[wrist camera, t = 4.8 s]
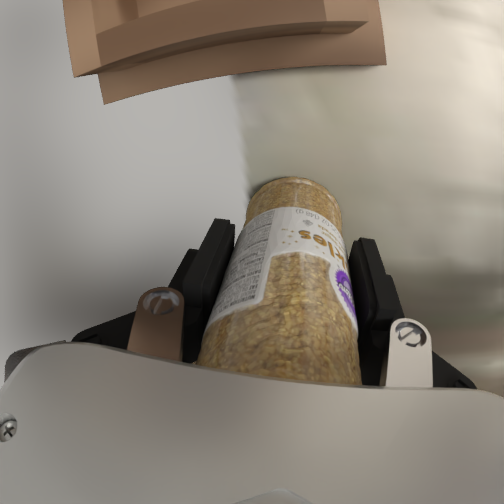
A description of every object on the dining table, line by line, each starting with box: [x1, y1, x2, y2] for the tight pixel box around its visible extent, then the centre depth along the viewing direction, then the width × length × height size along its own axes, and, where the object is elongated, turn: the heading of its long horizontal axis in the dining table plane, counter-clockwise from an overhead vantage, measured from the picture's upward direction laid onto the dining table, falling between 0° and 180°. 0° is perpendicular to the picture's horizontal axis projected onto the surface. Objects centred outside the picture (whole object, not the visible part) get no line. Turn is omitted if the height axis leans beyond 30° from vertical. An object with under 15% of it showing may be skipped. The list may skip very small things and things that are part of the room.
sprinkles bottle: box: [195, 177, 362, 385], centre depth 10 cm, size 5×5×14 cm
